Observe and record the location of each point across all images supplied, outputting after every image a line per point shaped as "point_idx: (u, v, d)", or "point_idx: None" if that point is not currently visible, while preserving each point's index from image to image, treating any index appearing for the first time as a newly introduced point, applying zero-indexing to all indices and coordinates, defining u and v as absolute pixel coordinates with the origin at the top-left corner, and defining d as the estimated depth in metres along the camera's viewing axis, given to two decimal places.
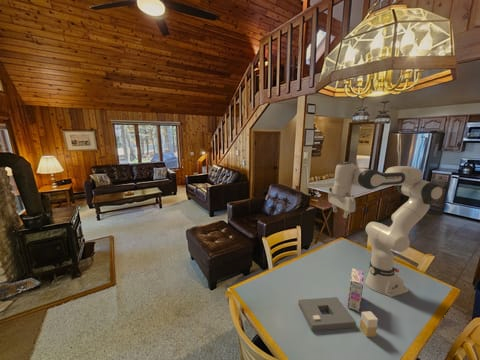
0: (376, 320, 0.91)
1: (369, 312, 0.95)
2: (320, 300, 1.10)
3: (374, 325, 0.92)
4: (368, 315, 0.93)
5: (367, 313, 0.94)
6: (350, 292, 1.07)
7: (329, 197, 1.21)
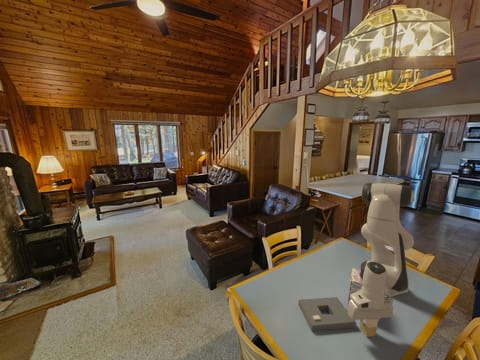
0: (376, 320, 0.91)
1: None
2: (320, 300, 1.10)
3: (374, 325, 0.92)
4: None
5: None
6: (350, 292, 1.07)
7: (356, 314, 0.90)
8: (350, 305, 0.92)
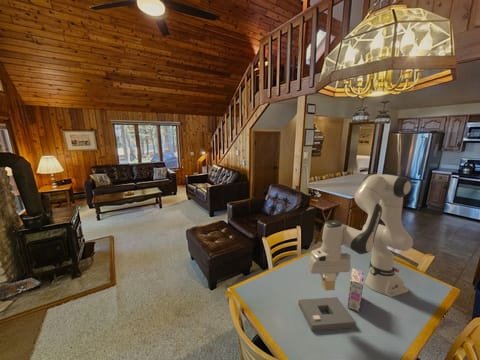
0: (334, 274, 0.98)
1: None
2: (320, 300, 1.10)
3: (333, 279, 0.98)
4: None
5: None
6: (350, 292, 1.07)
7: (315, 268, 0.96)
8: (310, 260, 0.98)
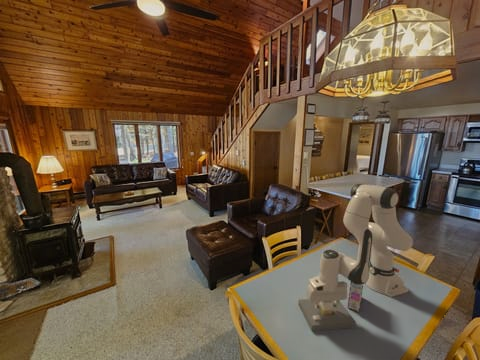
0: (332, 304, 1.00)
1: None
2: None
3: (330, 308, 1.01)
4: None
5: None
6: (350, 292, 1.07)
7: (312, 296, 0.99)
8: (308, 289, 1.01)
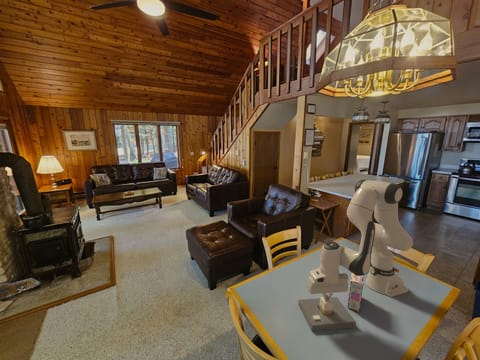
0: (331, 304, 1.00)
1: None
2: None
3: (330, 308, 1.01)
4: (325, 300, 1.02)
5: None
6: (350, 292, 1.07)
7: (313, 288, 0.98)
8: (309, 281, 1.00)
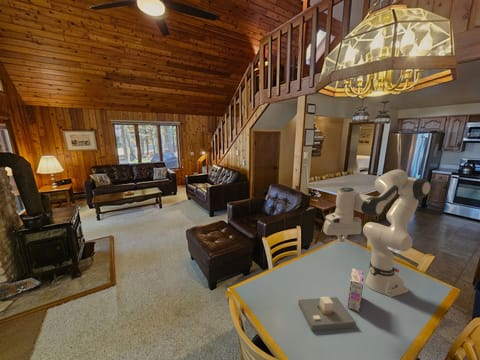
0: (331, 304, 1.00)
1: (326, 297, 1.04)
2: None
3: (330, 308, 1.01)
4: (325, 300, 1.02)
5: (325, 297, 1.04)
6: (350, 292, 1.07)
7: (329, 229, 1.07)
8: (325, 224, 1.09)
